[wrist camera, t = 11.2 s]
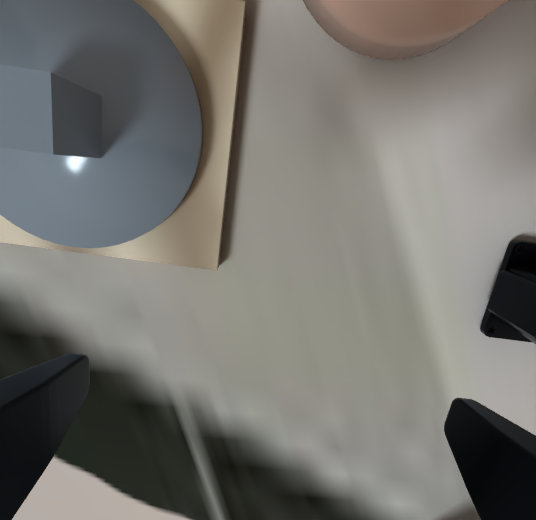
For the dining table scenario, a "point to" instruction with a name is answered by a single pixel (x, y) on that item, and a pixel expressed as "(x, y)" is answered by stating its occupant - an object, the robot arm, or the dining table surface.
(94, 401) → the dining table surface
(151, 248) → the board
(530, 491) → the robot arm
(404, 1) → the bowl
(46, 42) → the lid
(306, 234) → the dining table surface
